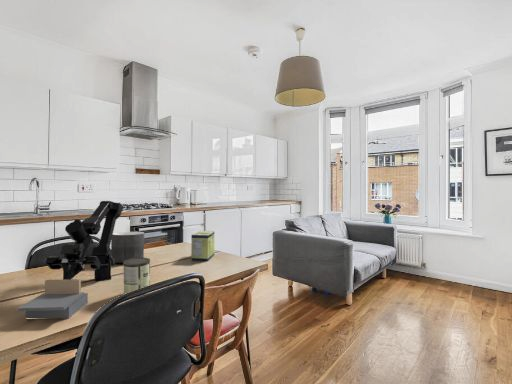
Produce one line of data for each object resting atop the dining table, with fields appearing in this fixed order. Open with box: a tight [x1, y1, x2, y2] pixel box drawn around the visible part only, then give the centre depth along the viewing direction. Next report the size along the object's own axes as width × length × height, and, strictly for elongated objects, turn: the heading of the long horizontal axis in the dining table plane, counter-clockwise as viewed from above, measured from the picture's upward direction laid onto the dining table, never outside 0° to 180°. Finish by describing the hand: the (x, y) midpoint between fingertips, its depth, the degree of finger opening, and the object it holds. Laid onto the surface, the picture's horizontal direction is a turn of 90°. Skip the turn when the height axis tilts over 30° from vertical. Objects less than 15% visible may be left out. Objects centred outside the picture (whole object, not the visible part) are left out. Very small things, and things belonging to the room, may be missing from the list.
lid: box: [17, 278, 85, 312], centre depth 97 cm, size 12×14×6 cm
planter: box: [110, 231, 145, 264], centre depth 165 cm, size 18×18×16 cm
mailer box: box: [25, 292, 89, 319], centre depth 100 cm, size 12×14×4 cm
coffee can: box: [122, 257, 151, 295], centre depth 115 cm, size 10×10×14 cm
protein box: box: [190, 230, 215, 262], centre depth 173 cm, size 10×16×16 cm
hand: (64, 283), depth 103 cm, fingers closed, pressing on lid
